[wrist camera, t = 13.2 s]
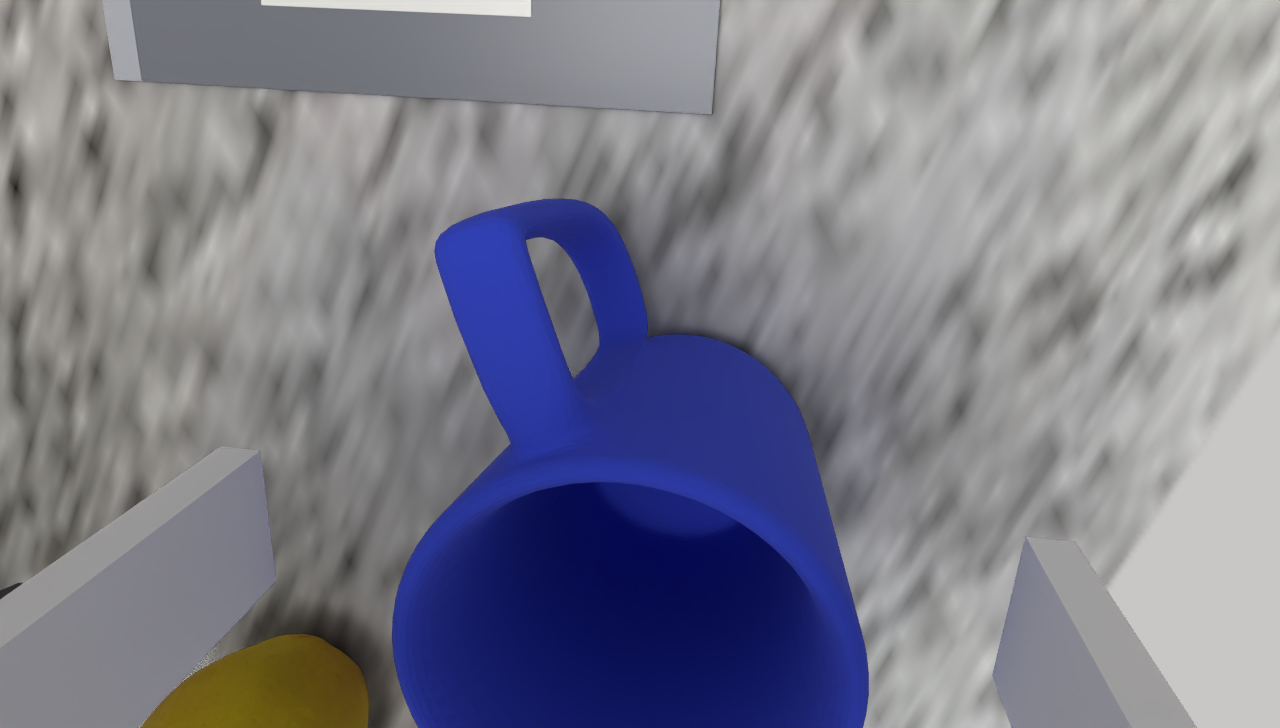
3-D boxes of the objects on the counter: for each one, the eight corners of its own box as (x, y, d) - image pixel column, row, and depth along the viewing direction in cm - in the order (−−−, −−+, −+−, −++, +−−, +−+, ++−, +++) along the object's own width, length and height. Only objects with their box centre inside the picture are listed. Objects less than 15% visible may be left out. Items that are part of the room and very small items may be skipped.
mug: (745, 108, 20) (714, 141, 11) (865, 533, 23) (921, 841, 14) (448, 209, 22) (205, 309, 13) (596, 587, 25) (490, 887, 16)
